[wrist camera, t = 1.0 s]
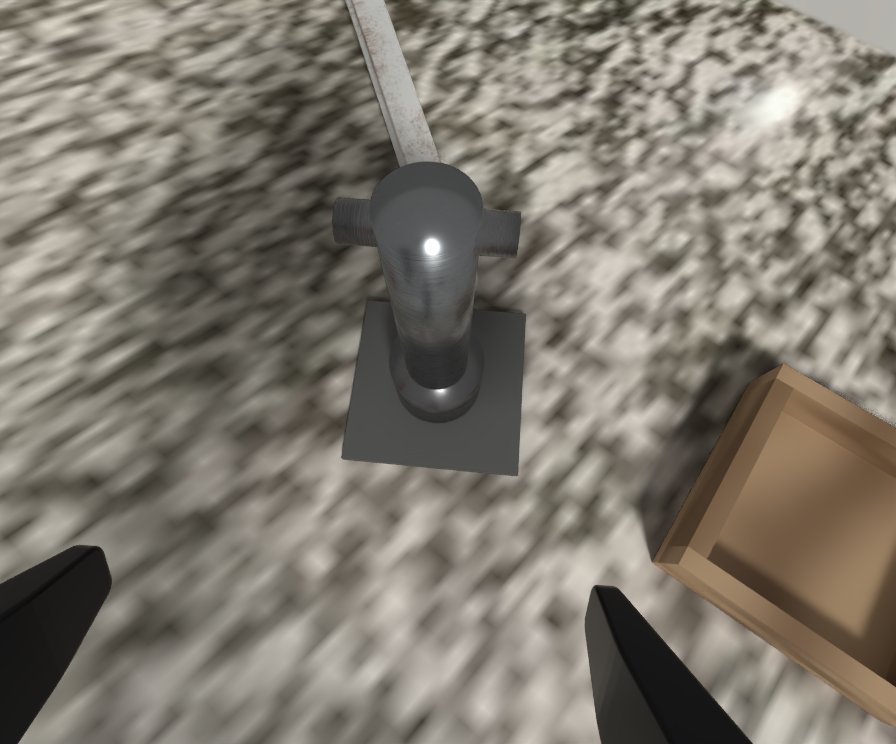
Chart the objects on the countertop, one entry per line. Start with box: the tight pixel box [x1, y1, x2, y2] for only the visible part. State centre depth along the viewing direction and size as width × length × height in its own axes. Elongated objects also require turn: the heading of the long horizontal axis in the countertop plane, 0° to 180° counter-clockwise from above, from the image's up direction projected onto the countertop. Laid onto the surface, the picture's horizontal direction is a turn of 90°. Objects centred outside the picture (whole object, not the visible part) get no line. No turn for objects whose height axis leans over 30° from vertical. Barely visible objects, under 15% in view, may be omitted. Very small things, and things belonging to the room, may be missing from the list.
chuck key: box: [332, 161, 521, 423], centre depth 18 cm, size 4×4×13 cm
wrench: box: [345, 0, 478, 292], centre depth 28 cm, size 8×2×30 cm
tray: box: [652, 364, 896, 727], centre depth 20 cm, size 10×10×3 cm
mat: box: [341, 300, 526, 476], centre depth 24 cm, size 8×8×1 cm
